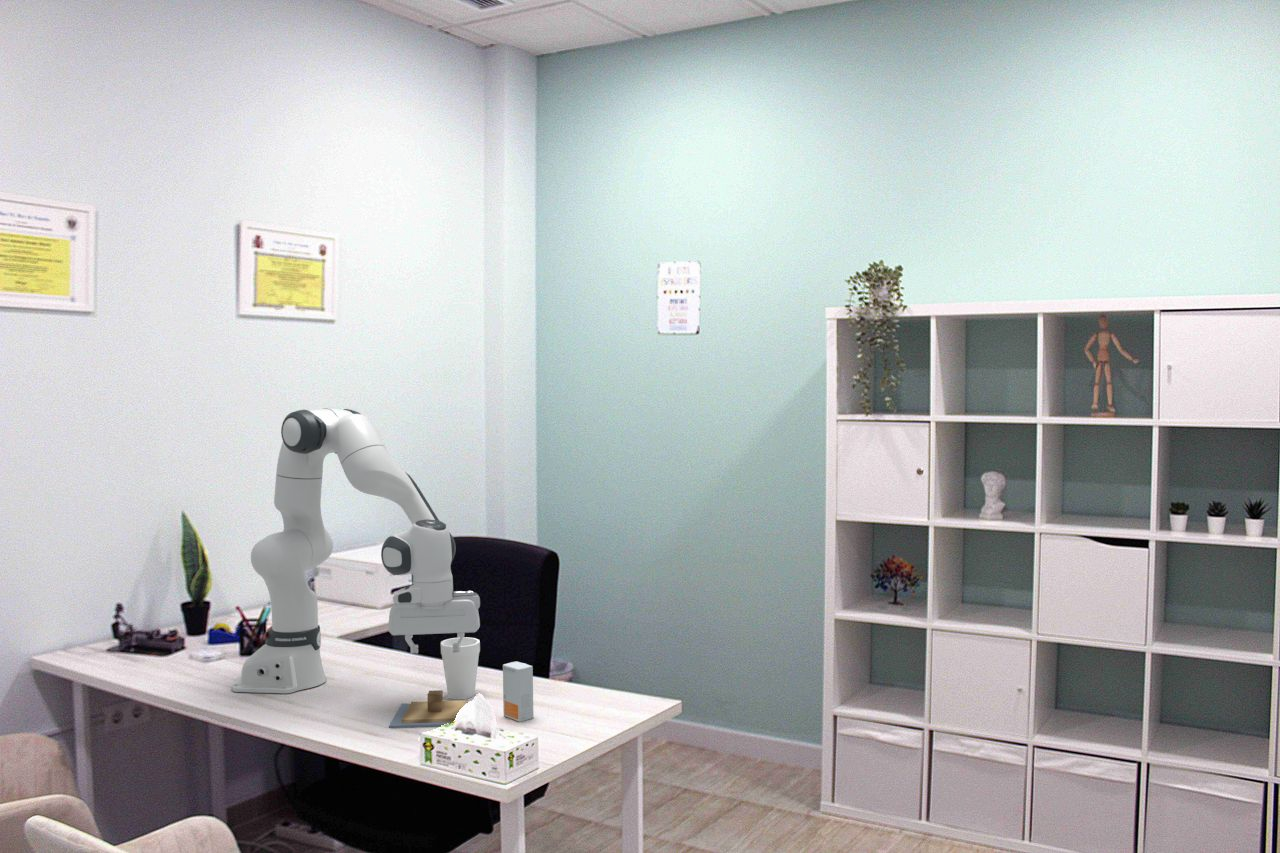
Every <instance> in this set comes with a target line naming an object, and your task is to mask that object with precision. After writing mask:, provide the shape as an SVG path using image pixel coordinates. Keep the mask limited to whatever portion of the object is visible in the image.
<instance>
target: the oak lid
mask: <svg viewBox="0 0 1280 853" xmlns="http://www.w3.org/2000/svg"><path fill="white" fill-rule="evenodd" d="M443 691H444V690H442V689H440V690H439V689H438V690H429V691H428V692H427V695H426V696H427V698H426V699H427V700H426V701H411V702H410V703H411V704H410V705H409V707H408V709H407V711H406V713H405V714H404V716H403V718H402V723H429V722H453V721H454V720H455V718H456V715H457V713H458V712H459V710H460V709H461V708H462V707H463V706H464V705H465V704H466V703H468V702H469V701H468V700H467V699H461V700H444V696H443V695H444V693H443Z"/></svg>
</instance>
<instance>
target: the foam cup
mask: <svg viewBox="0 0 1280 853" xmlns="http://www.w3.org/2000/svg"><path fill="white" fill-rule="evenodd" d="M459 638H460V637H459ZM459 638H458V637H452V638H451V637H450V638H447V639H444V640H441V641H440V655H441V658H442V664H443V671H444V678H445V684H446V691H447V697H448V698H450V699H452V700H467V699H470V698H473V697H474V696H475V692H476V687H477V686H476V685H477V675H478V667H479V666H478V665H479V656H480V652H481V642H480V639H478V638H476V637H470V636H469V637H467V636H466V637H465V636H464V637H463V639H462V641H461V643H460V652H453V643H457V642H458V640H459Z"/></svg>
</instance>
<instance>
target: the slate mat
mask: <svg viewBox="0 0 1280 853" xmlns="http://www.w3.org/2000/svg"><path fill="white" fill-rule="evenodd" d="M410 704H411V702H408V703H407V702H404V703H401V704H400V706H399V707H398V710H397V711H396V713H395V715H394V716H393V717H392V720H391V722H390V723H389V725H388V728H389V729H395V728H396V729H398V728H399V729H400V728H401V729H402V728H405V729H407V728H434V727H435V728H438V727H439V726H441V725H444V724H447V723H450V722H429V723H402V718H403V716H404V714H405V713H406V711H407V709H408V707H409V705H410Z"/></svg>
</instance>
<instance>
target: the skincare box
mask: <svg viewBox="0 0 1280 853" xmlns="http://www.w3.org/2000/svg"><path fill="white" fill-rule="evenodd" d="M533 670H534V668H533V665H530V664H527V663H524V662H520V661H511V662H508V663H504V664H502V691H503V692H502V695H503V696H502V701H503V704H502V705H503V706H502V708H503V711H502V712H503V717H506V718H509V719H511V720H514V721H517V722H519V723H521V722H525V721H527V720H531V719H534V676H533V674H534V672H533Z"/></svg>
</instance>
